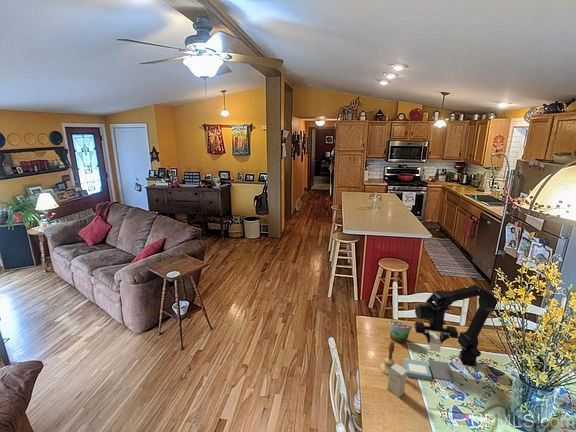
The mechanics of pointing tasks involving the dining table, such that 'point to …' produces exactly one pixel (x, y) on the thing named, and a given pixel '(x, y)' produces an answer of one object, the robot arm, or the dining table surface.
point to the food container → (399, 331)
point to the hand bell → (388, 360)
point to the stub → (434, 342)
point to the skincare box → (397, 379)
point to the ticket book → (417, 368)
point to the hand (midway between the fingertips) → (433, 344)
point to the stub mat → (441, 370)
